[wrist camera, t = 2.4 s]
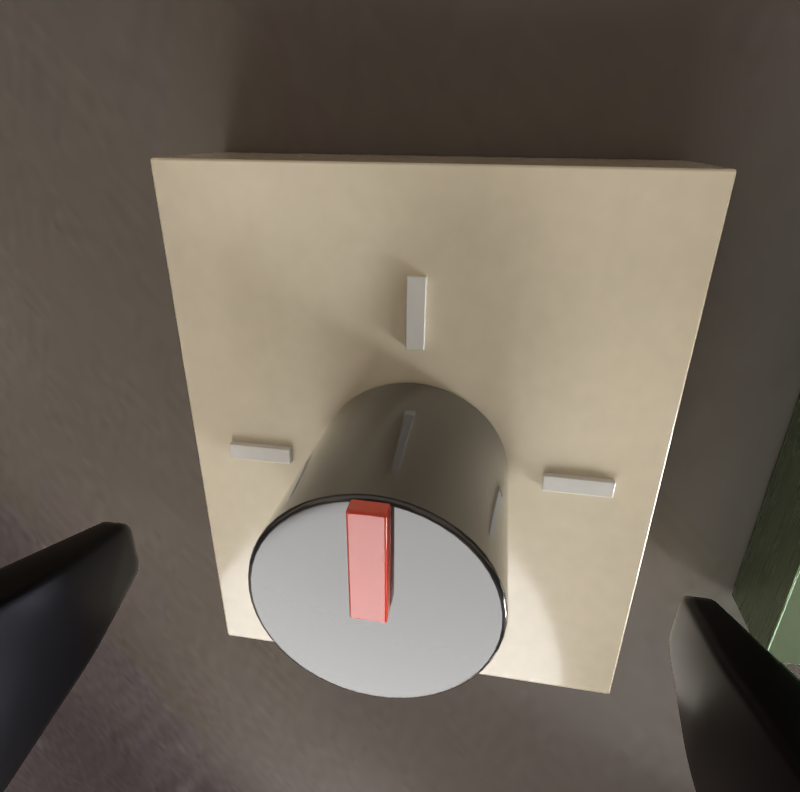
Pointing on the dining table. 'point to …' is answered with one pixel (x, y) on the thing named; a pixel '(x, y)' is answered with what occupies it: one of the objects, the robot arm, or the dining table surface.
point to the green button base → (776, 559)
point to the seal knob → (391, 547)
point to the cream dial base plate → (451, 348)
